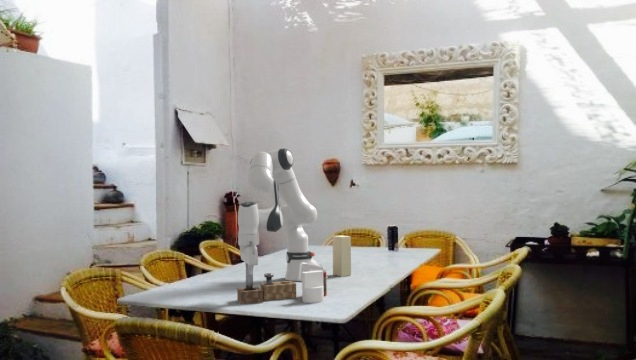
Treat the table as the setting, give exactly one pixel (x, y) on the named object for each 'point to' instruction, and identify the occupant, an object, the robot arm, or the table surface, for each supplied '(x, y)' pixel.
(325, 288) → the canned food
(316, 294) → the cylinder with rectangular tab
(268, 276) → the grey headed bolt
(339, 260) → the tall beige block
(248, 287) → the grey peg
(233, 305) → the table surface
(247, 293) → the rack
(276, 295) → the socket block
